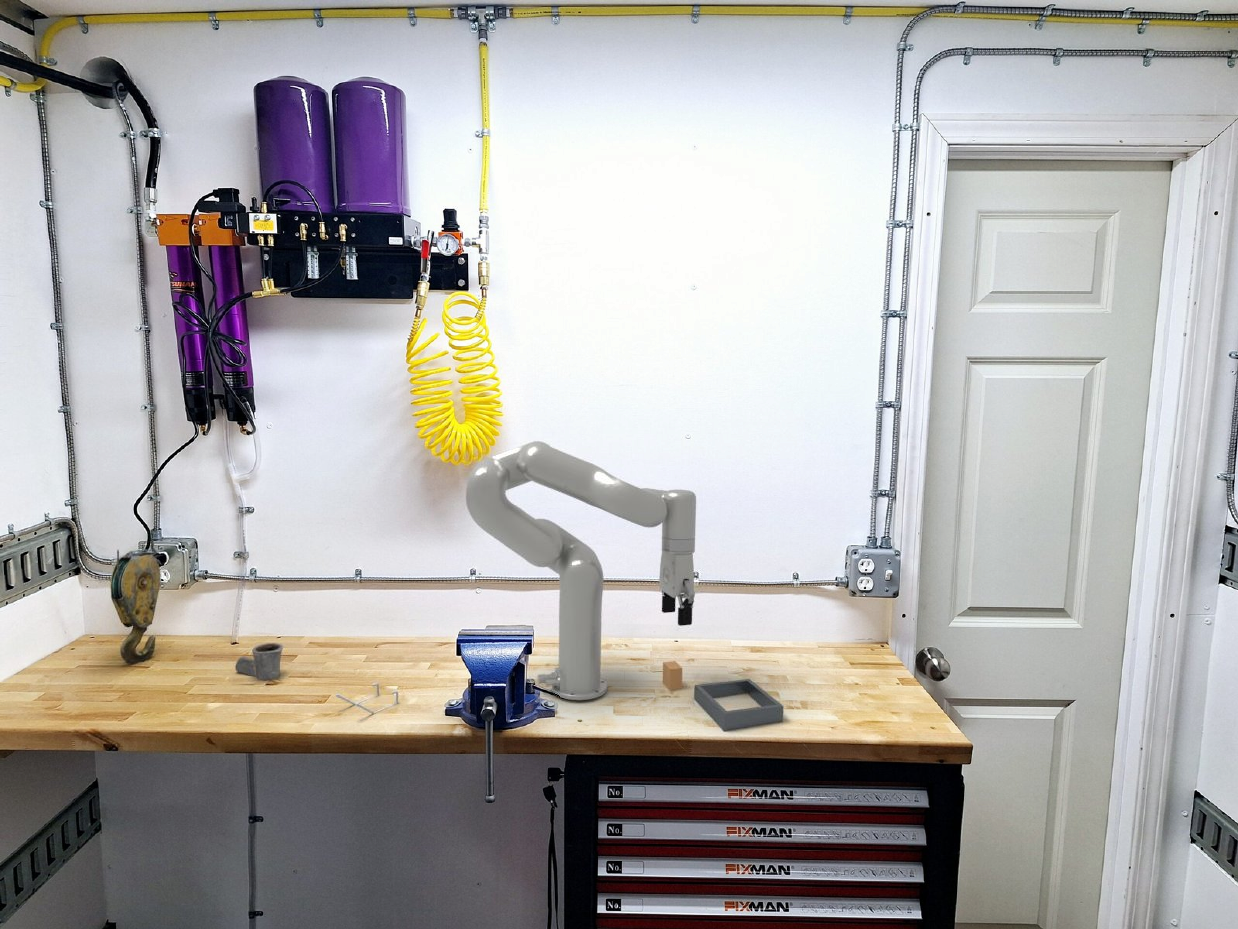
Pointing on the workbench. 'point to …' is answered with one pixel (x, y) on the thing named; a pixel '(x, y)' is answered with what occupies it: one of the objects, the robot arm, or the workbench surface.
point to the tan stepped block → (672, 675)
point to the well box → (742, 717)
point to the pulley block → (136, 599)
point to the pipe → (262, 662)
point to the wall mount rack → (370, 698)
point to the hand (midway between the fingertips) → (676, 618)
